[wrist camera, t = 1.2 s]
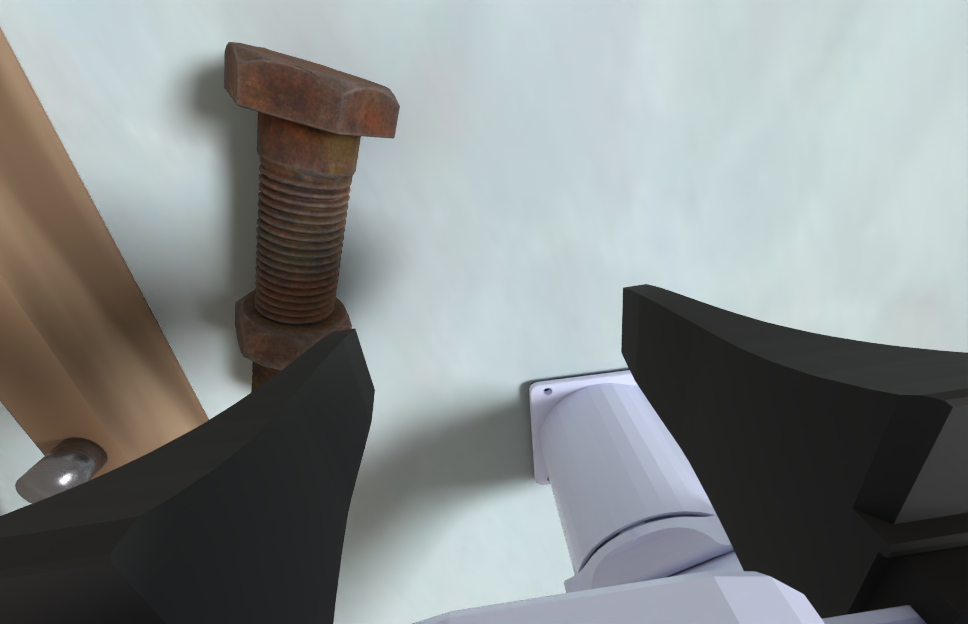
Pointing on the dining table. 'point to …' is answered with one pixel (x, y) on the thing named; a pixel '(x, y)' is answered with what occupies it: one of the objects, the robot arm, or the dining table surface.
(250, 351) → the bolt
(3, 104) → the bench stop
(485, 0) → the dining table surface
